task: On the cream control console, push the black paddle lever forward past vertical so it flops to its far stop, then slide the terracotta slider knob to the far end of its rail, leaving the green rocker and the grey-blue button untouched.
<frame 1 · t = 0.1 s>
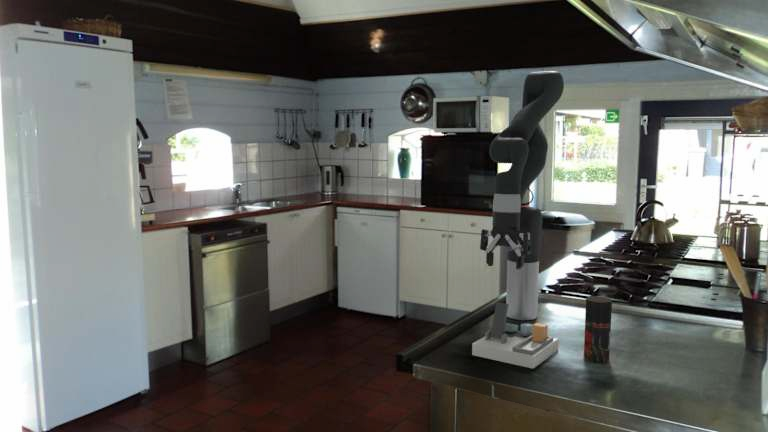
hand: (504, 267, 179), 17 cm above the counter, tool pointing down, fingers open, 8 cm apart
panel: (515, 352, 160), on the counter
rocker: (509, 327, 166), point 5 cm above the counter, hinge at -12.0°
deodorant: (596, 360, 155), on the counter
push button: (526, 329, 164), point 5 cm above the counter, slide at 0.0 cm
paddle lever: (499, 320, 160), point 8 cm above the counter, hinge at -20.0°
slider knob: (539, 332, 159), point 5 cm above the counter, slide at 0.0 cm
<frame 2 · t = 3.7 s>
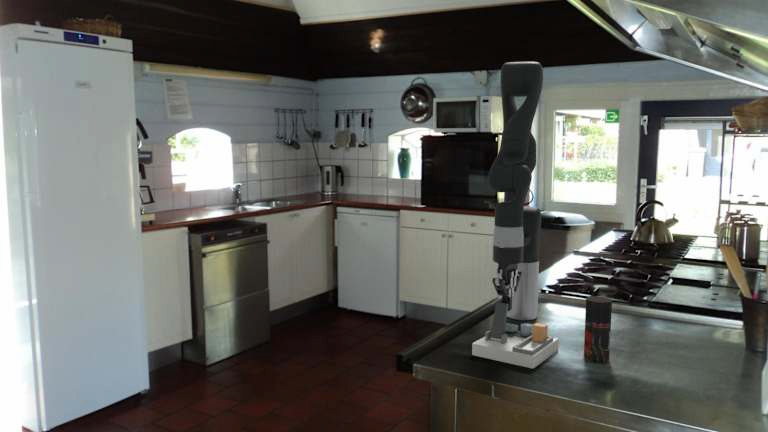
hand: (506, 310, 163), 10 cm above the counter, tool pointing down, fingers closed
paddle lever: (499, 320, 160), point 8 cm above the counter, hinge at -19.6°, touching gripper
everything else where it was.
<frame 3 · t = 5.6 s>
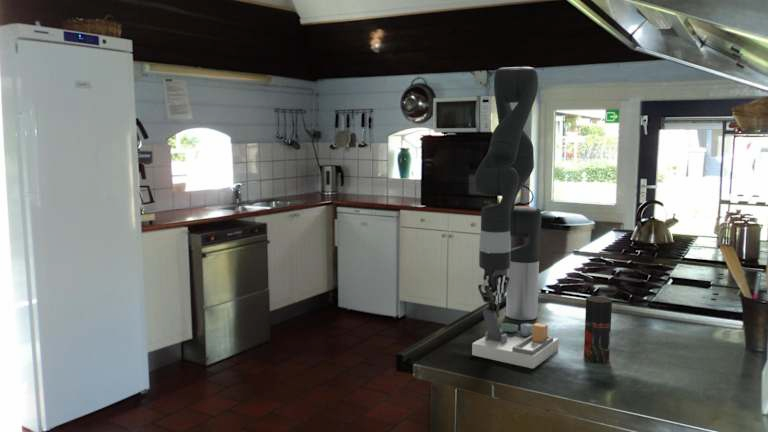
hand: (493, 317, 157), 9 cm above the counter, tool pointing down, fingers closed
paddle lever: (492, 325, 157), point 8 cm above the counter, hinge at 26.4°, touching gripper
everything else where it was.
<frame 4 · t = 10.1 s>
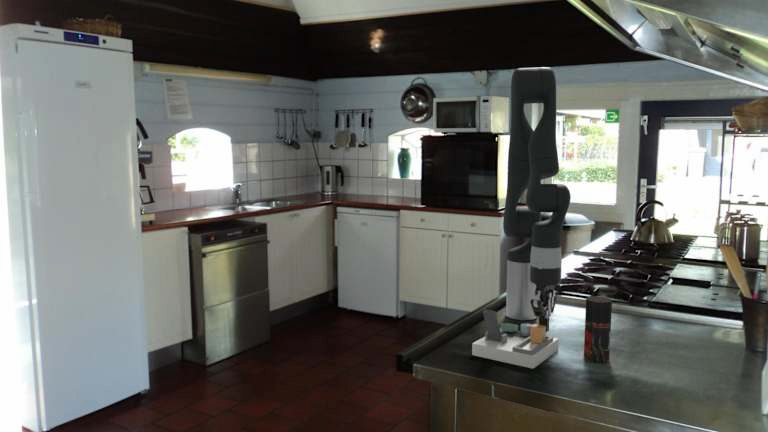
hand: (543, 331, 160), 5 cm above the counter, tool pointing down, fingers closed
paddle lever: (492, 325, 157), point 8 cm above the counter, hinge at 26.5°
slider knob: (538, 333, 158), point 5 cm above the counter, slide at 1.1 cm, touching gripper
everything else where it was.
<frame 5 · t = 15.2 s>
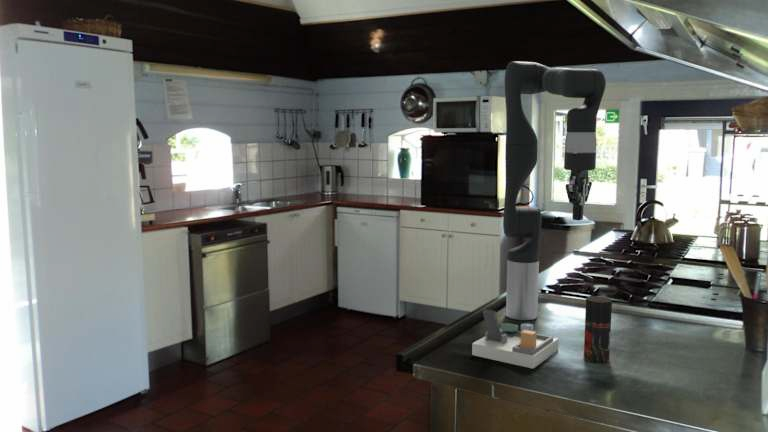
hand: (577, 219, 161), 33 cm above the counter, tool pointing down, fingers closed
slider knob: (528, 340, 153), point 5 cm above the counter, slide at 7.1 cm
everything else where it was.
at the end: paddle lever at +26° (first picture: -20°); slider knob slide at 7.1 cm; rocker at -12° (first picture: -12°) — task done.
